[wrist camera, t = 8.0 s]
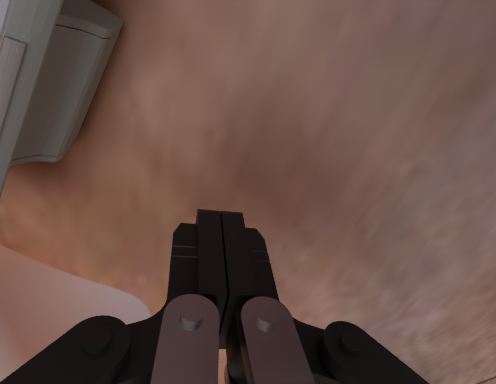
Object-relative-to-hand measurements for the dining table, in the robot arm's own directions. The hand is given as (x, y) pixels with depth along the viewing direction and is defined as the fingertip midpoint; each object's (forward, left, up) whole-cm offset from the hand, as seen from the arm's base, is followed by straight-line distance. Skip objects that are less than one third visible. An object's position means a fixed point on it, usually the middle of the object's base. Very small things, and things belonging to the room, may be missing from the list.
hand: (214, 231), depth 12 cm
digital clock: (+11, -1, -16) cm, 19 cm away
